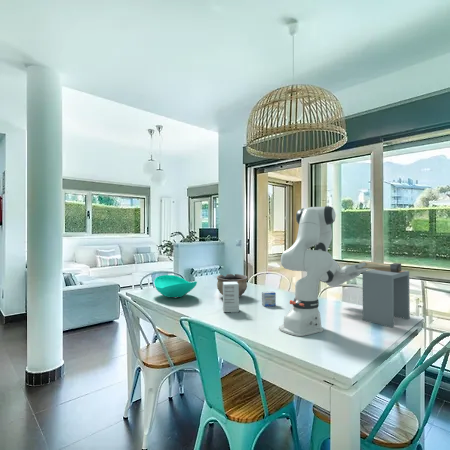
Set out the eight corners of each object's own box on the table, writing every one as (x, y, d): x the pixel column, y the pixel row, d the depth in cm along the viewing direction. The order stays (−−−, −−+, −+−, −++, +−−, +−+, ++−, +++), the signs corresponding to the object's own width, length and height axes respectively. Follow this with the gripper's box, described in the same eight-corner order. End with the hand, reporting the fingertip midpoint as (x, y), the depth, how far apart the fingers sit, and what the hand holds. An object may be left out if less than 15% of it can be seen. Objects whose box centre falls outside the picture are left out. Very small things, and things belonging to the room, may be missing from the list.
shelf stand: (392, 327, 151) (391, 274, 151) (362, 320, 162) (362, 271, 162) (409, 318, 164) (409, 270, 164) (381, 312, 176) (381, 267, 176)
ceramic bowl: (241, 292, 231) (240, 273, 231) (252, 299, 210) (252, 277, 210) (213, 294, 224) (213, 274, 224) (222, 301, 203) (222, 279, 203)
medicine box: (264, 307, 190) (264, 293, 190) (261, 305, 194) (261, 291, 194) (275, 306, 192) (275, 292, 192) (272, 304, 196) (272, 291, 196)
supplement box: (239, 312, 178) (239, 284, 178) (223, 313, 177) (223, 284, 177) (237, 308, 187) (237, 281, 187) (222, 308, 187) (222, 281, 187)
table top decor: (206, 299, 210) (206, 280, 210) (170, 305, 194) (170, 285, 194) (179, 289, 242) (179, 273, 242) (146, 294, 225) (146, 277, 225)
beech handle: (396, 272, 159) (395, 264, 159) (359, 267, 178) (358, 260, 178) (401, 270, 162) (401, 263, 162) (364, 265, 181) (364, 259, 181)
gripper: (337, 269, 180) (356, 259, 171) (354, 266, 193) (373, 257, 184) (342, 279, 178) (361, 269, 168) (359, 275, 190) (378, 266, 181)
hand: (367, 263), depth 176 cm, fingers closed on beech handle, 4 cm apart
